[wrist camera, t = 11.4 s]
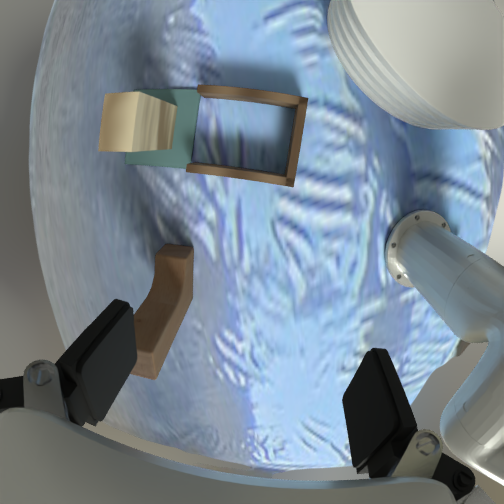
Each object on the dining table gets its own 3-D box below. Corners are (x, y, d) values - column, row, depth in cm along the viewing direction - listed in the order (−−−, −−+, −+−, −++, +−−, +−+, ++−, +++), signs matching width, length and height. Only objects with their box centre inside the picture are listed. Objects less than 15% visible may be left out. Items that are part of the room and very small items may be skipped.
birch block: (177, 106, 33) (139, 91, 21) (171, 149, 35) (131, 152, 24) (150, 105, 32) (105, 93, 21) (145, 147, 35) (98, 151, 23)
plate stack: (350, 131, 33) (383, 126, 22) (306, -30, 23) (315, -73, 13) (491, 133, 30) (537, 137, 19) (452, -7, 20) (484, -27, 10)
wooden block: (165, 242, 40) (105, 306, 23) (194, 246, 40) (147, 315, 23) (166, 295, 43) (119, 372, 26) (193, 299, 43) (156, 382, 26)
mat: (201, 90, 32) (200, 89, 32) (190, 169, 36) (189, 169, 36) (134, 90, 32) (133, 89, 32) (126, 163, 36) (124, 163, 36)
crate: (303, 103, 32) (308, 98, 28) (290, 183, 36) (293, 187, 32) (205, 90, 32) (198, 84, 28) (194, 169, 36) (185, 172, 32)
